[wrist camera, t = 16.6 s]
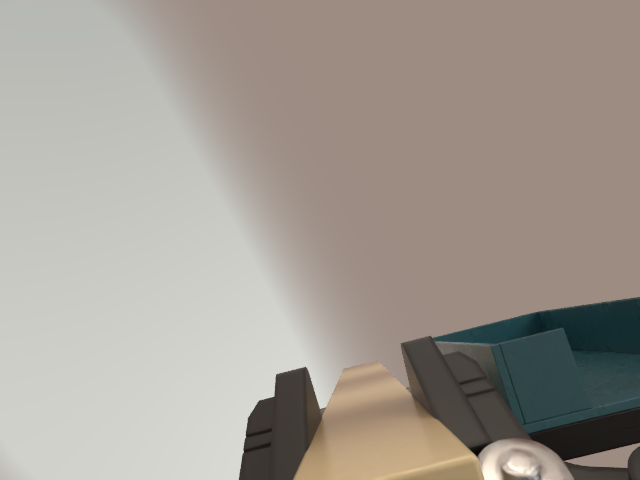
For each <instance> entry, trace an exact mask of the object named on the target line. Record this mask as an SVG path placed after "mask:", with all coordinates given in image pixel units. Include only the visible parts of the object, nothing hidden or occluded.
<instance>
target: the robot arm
mask: <svg viewBox="0 0 640 480" xmlns="http://www.w3.org/2000/svg"><path fill="white" fill-rule="evenodd" d="M401 348H402V354H403V358H404V363H405V367H406V371H407V376H408V380H409V385H410V389H411V394H412V396H413V397H414V398H415V399H416V400H417V401H418V402H419V403H420V404H421V405H422V406H423V407H424V408H425V409H426V410H427V411H428V412H429V413H430V414H431V415H432V416H433V417H434V418H435V419H438V420H439V421H440V422H441V423H442V424H443V425H444V426H445V427H447V428H448V429H449V430H450V431H451V432H452V433H453V434H454V435H455V436H456V437H457V438H458V439H459V440H460V441H461V442H462V443H463V444H464V445H465V446H466V447H467V448H468V449H469V450H470V451H472V452H473V453H474V454H475V456H476V457H477V458H478V460H479V463H480V466H481V469H482V472H483V476H484V479H485V480H640V447H638V448H637V449H635V450H634V451H633V452H632V454H631V455H630V457H629V459H628V468H611V467H589V466H580V465H575V464H571V463H568V462H564V461H563V460H562V459H561V458H560V457H559V456H558V455H557V454H556V453H555V452H554V451H552V450H551V449H550V448H548V447H546V446H544V445H542V444H540V443H538V442H535V441H533V440H532V439H531V438H530V436H529V435H528V434H527V432H526V431H525V429H524V428H523V426H522V425H521V424H520V422H519V421H518V419H517V418H516V417H515V415H514V414H513V412H512V411H511V409H510V408H509V407H508V405H507V404H506V402H505V401H504V400H503V398H502V397H501V395H500V394H499V392H498V391H496V389H495V387H494V385H493V384H492V383H491V381H490V380H489V378H487V375H486V374H485V373H484V371H483V370H482V368H481V367H480V366H479V364H478V363H477V361H475V360H474V359H472V358H470V357H468V356H467V355H465V354H463V353H462V352H460V351H457V352H453V353H449V354H445V355H442V354H441V352H440V350H439V348H438V347H437V345H436V343H435V342H434V340H433V338H432V337H431V336H428V337H424V338H420V339H416V340H412V341H408V342H404V343H401ZM321 420H322V415H321V412H320V408H319V405H318V402H317V398H316V395H315V392H314V388H313V385H312V382H311V378H310V375H309V372H308V370H307V368H306V367H304V368H300V369H296V370H292V371H288V372H284V373H280V374H277V375H276V383H275V396H274V397H272V398H268V399H264V400H260V401H259V402H258V404H257V405H256V406H255V408H254V410H253V411H252V413H251V414H250V416H249V418H248V423H247V430H246V438H245V443H244V453H243V456H242V463H241V469H240V477H239V480H293V478H294V476H295V474H296V472H297V470H298V468H299V465H300V463H301V461H302V459H303V457H304V455H305V452H307V451H308V449H309V447H310V444H311V442H312V440H313V438H314V435H315V433H316V431H317V429H318V426H319V424H320V422H321Z"/></svg>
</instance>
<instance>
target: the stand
mask: <svg viewBox="0 0 640 480" xmlns="http://www.w3.org/2000/svg"><path fill="white" fill-rule="evenodd" d="M406 389H407V390H408V391H409V392H410V393H411V389H410V387H408V388H406ZM325 409H326V408H322V409H320V412H321V415H323V413H324V411H325ZM528 435H529V436H530V438H531V439H532V440H533V441H535V442H538V443H540V444H542V445H544V446H546V447H548V448H550V449H551V450H552V451H554V452H555V453H556V454H557V455H558V456H559V457H560V458H561V459H562V460H563V461H565V460H570V459H574V458H578V457H582V456H586V455H590V454H594V453H599V452H603V451H607V450H611V449H615V448H619V447H624V446H628V445H632V444H636V443H640V407H638V408H634V409H629V410H625V411H621V412H617V413H613V414H609V415H605V416H600V417H596V418H592V419H588V420H584V421H580V422H576V423H571V424H567V425H563V426H559V427H555V428H551V429H547V430H542V431H538V432H534V433H530V434H528Z"/></svg>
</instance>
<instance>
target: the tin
mask: <svg viewBox="0 0 640 480" xmlns="http://www.w3.org/2000/svg"><path fill="white" fill-rule="evenodd" d="M433 340H434V342H435V343H436V345H437V347H438V348H439V350H440V352H441V354H442V355H445V354H449V353H453V352H457V351H460V352H462V353H463V354H465V355H467V356H468V357H470V358H472V359H474V360H475V361H477V363H478V364H479V366H480V367H481V368H482V370H483V371H484V373H485V374H486V375H487V378H489V380H490V381H491V383H492V384H493V385H494V387H495V389H496V391H498V392H499V394H500V395H501V397H502V398H503V400H504V401H505V402H506V404H507V405H508V407H509V408H510V409H511V411H512V412H513V414H514V415H515V417H516V418H517V419H518V421H519V422H520V424H521V425H522V426H523V428H524V429H525V431H526V432H527V434H530V433H534V432H538V431H542V430H547V429H551V428H555V427H559V426H563V425H567V424H571V423H576V422H580V421H584V420H588V419H592V418H596V417H600V416H605V415H609V414H613V413H617V412H621V411H625V410H629V409H634V408H638V407H640V297H637V298H631V299H623V300H616V301H610V302H602V303H595V304H589V305H582V306H574V307H567V308H561V309H554V310H546V311H540V312H535V313H531V314H527V315H523V316H519V317H515V318H511V319H507V320H503V321H499V322H495V323H490V324H486V325H483V326H478V327H474V328H470V329H467V330H462V331H459V332H454V333H450V334H447V335H442V336H438V337H434V338H433Z"/></svg>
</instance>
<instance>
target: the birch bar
mask: <svg viewBox="0 0 640 480" xmlns="http://www.w3.org/2000/svg"><path fill="white" fill-rule="evenodd" d="M293 480H485V479H484V476H483V472H482V469H481V466H480V463H479V460H478V458H477V457H476V456H475V454H474V453H473V452H472V451H470V450H469V449H468V448H467V447H466V446H465V445H464V444H463V443H462V442H461V441H460V440H459V439H458V438H457V437H456V436H455V435H454V434H453V433H452V432H451V431H450V430H449V429H448V428H447V427H445V426H444V425H443V424H442V423H441V422H440V421H439V420H438V419H435V418H434V417H433V416H432V415H431V414H430V413H429V412H428V411H427V410H426V409H425V408H424V407H423V406H422V405H421V404H420V403H419V402H418V401H417V400H416V399H415V398H414V397H413V396H412V394H411V393H410V392H409V391H408V390H407V389H406V388H405V387H404V386H403V385H402V384H401V383H399V381H398V380H396V379H395V378H394V377H393V376H392V375H391V374H390V373H389V372H388V371H387V370H386V369H385V368H384V367H383V366H382V365H381V364H379V362H378V361H373V362H370V363H365V364H362V365H357V366H353V367H350V368H345V369H344V370H343V372H342V374H341V376H340V379H339V381H338V383H337V385H336V387H335V389H334V392H333V394H332V396H331V398H330V400H329V402H328V405H327V407H326V409H325V411H324V413H323V415H322V420H321V422H320V424H319V426H318V429H317V431H316V433H315V435H314V438H313V440H312V442H311V444H310V447H309V449H308V451H307V452H305V455H304V457H303V459H302V461H301V463H300V465H299V468H298V470H297V472H296V474H295V476H294V478H293Z"/></svg>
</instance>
